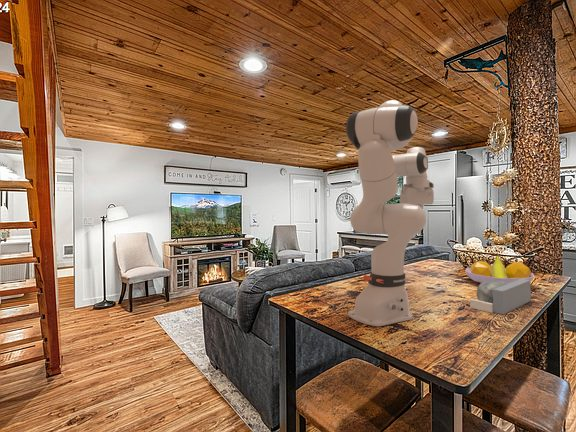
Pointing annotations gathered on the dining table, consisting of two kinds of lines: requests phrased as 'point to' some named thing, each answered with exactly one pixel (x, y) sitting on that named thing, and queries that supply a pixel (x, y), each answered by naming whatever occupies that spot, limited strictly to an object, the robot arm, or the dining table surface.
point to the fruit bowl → (499, 272)
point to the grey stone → (488, 290)
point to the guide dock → (506, 298)
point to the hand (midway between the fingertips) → (417, 215)
